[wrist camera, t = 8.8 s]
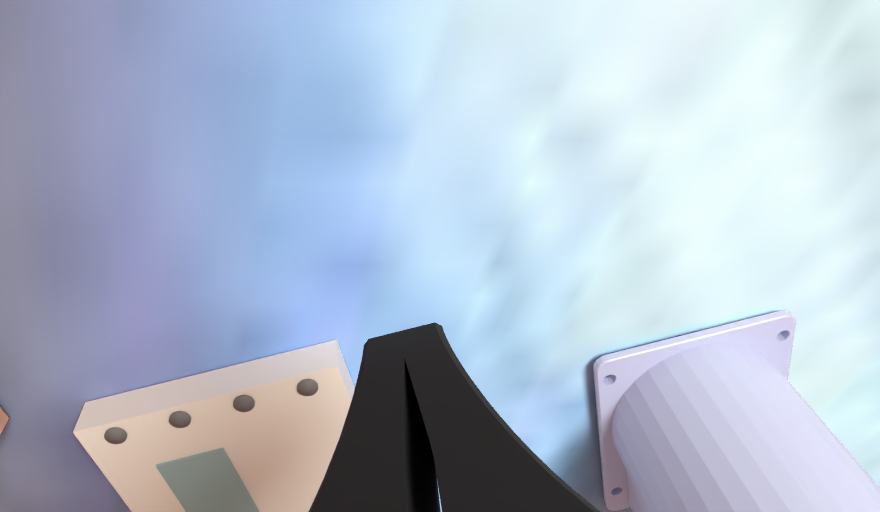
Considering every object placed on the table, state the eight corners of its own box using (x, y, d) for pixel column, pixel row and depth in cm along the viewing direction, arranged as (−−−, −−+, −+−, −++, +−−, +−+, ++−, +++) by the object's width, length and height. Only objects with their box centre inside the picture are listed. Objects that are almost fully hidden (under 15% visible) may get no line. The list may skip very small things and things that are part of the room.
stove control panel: (408, 532, 30) (416, 596, 27) (212, 583, 30) (202, 652, 27) (336, 339, 23) (338, 400, 21) (85, 402, 23) (56, 471, 21)
